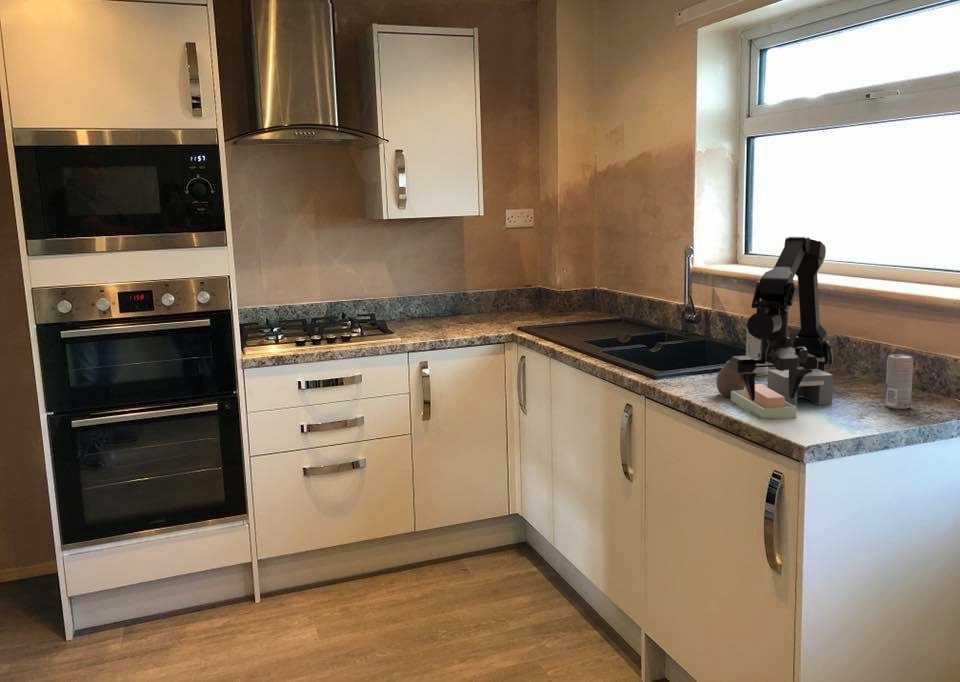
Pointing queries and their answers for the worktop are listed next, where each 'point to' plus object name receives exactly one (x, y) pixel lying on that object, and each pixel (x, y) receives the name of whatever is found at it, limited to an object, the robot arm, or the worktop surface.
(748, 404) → the tray
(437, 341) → the worktop surface
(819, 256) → the robot arm
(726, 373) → the vase
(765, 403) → the pink square pillar
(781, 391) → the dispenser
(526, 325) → the worktop surface
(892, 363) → the energy drink
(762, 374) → the energy drink can
